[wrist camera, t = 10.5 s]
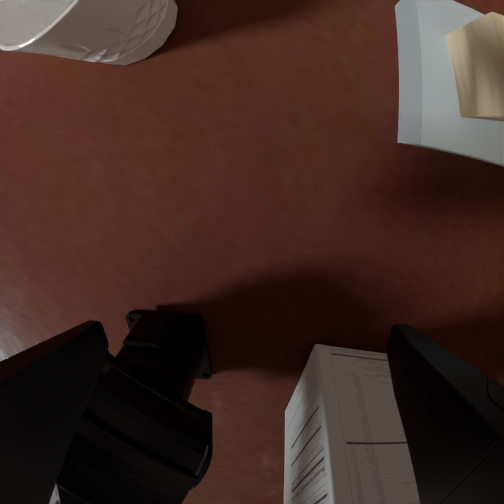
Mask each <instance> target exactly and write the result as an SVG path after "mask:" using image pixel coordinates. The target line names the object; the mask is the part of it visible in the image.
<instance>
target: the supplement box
mask: <svg viewBox="0 0 504 504" xmlns="http://www.w3.org/2000/svg"><path fill="white" fill-rule="evenodd" d="M284 504H420V500H419V495H418V490H417V485H416V480H415V475H414V471H413V466H412V462H411V457H410V453H409V449H408V445H407V441H406V437H405V433H404V429H403V425H402V422H401V418H400V414H399V411H398V407H397V404H396V400H395V396H394V391H393V385H392V379H391V374H390V368H389V363H388V358H387V354H386V353H378V352H370V351H362V350H355V349H348V348H341V347H334V346H328V345H321V344H315V345H314V347H313V350H312V352H311V354H310V357H309V359H308V361H307V364H306V366H305V369H304V371H303V373H302V375H301V378H300V380H299V382H298V385H297V387H296V389H295V391H294V393H293V395H292V398H291V400H290V402H289V404H288V406H287V408H286V410H285V471H284Z"/></svg>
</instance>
